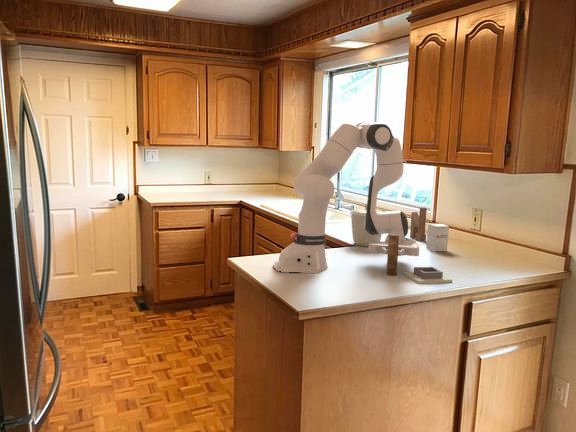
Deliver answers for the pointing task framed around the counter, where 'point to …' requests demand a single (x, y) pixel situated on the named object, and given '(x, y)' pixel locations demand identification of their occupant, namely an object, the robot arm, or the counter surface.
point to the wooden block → (418, 224)
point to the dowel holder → (427, 275)
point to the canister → (362, 227)
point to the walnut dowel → (392, 254)
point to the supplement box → (437, 237)
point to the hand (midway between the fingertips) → (392, 252)
